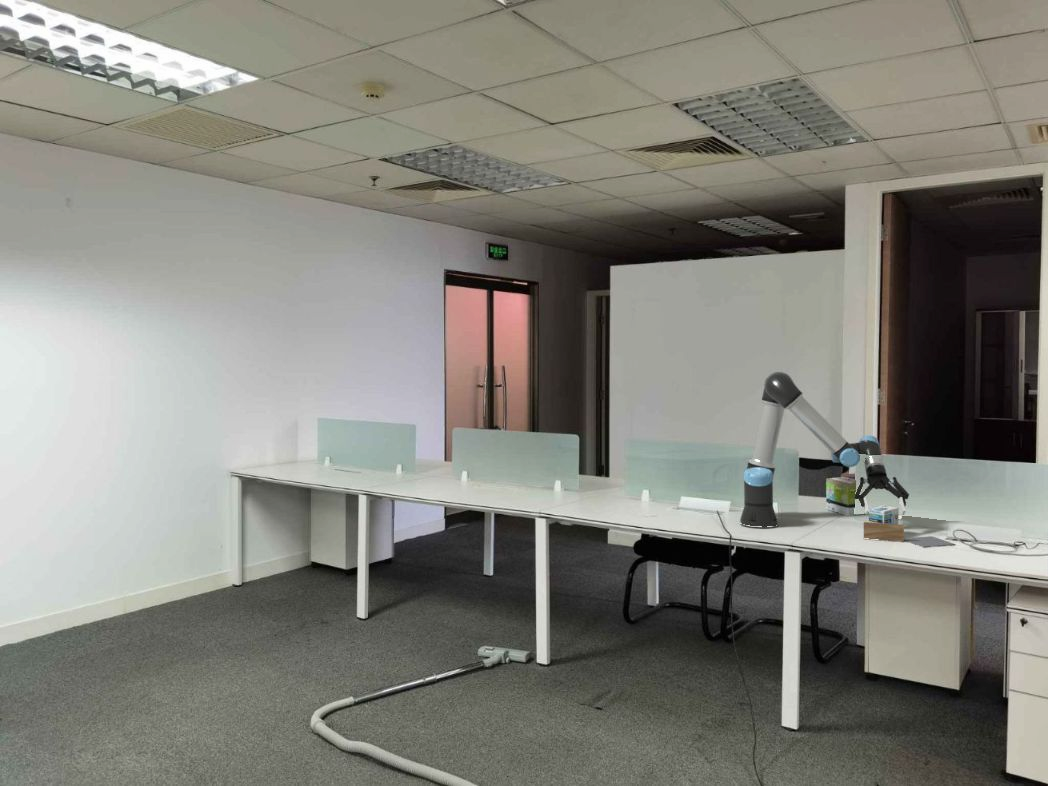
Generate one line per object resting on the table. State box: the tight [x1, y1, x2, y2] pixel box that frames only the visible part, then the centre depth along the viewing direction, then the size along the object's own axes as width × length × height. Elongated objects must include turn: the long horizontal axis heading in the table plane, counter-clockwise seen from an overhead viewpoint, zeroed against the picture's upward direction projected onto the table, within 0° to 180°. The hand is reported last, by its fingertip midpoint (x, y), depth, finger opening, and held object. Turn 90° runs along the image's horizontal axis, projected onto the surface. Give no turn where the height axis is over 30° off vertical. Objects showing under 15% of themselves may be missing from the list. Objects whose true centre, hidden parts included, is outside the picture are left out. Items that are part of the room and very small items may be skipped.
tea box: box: [825, 476, 856, 517], centre depth 358 cm, size 15×10×15 cm, turn 17°
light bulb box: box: [868, 505, 900, 524], centre depth 314 cm, size 11×7×11 cm, turn 126°
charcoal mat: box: [904, 535, 956, 548], centre depth 301 cm, size 13×13×1 cm
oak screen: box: [863, 521, 905, 543], centre depth 305 cm, size 1×14×6 cm, turn 65°
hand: (885, 512), depth 316 cm, fingers open, 13 cm apart
